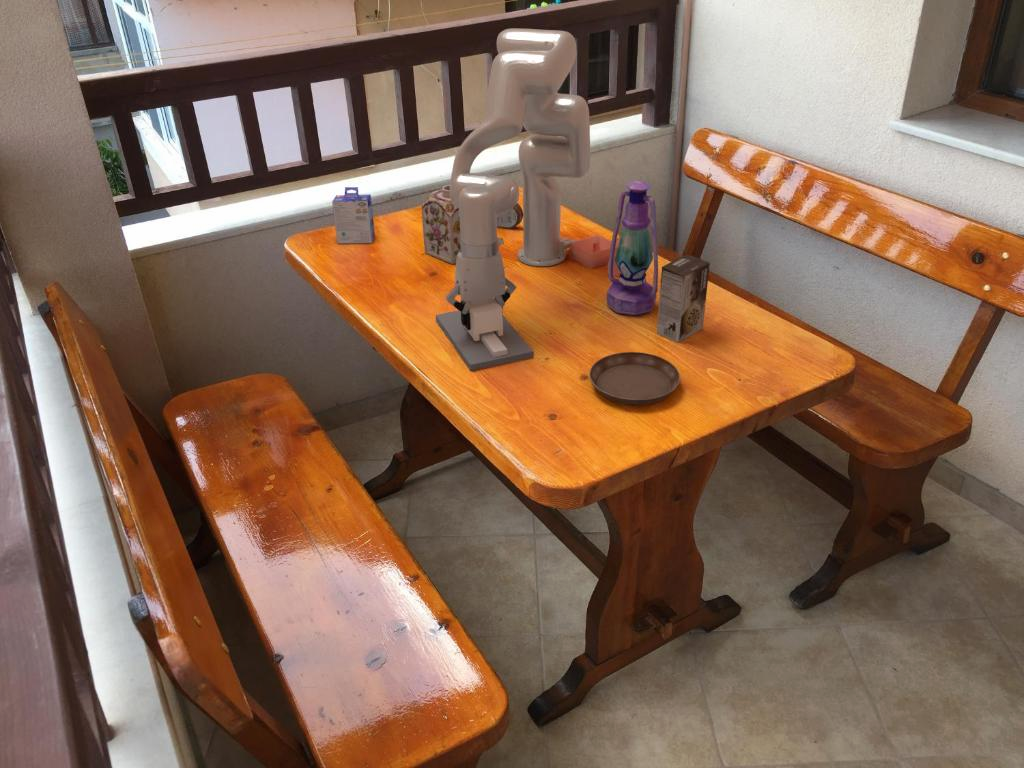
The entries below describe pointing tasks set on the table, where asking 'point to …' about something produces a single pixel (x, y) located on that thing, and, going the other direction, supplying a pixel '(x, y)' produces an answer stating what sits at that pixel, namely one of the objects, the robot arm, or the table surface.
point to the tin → (510, 218)
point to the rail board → (484, 343)
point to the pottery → (594, 252)
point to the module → (485, 318)
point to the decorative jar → (441, 226)
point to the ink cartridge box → (353, 217)
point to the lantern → (634, 253)
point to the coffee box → (682, 297)
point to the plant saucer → (634, 378)
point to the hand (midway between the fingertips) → (482, 323)
